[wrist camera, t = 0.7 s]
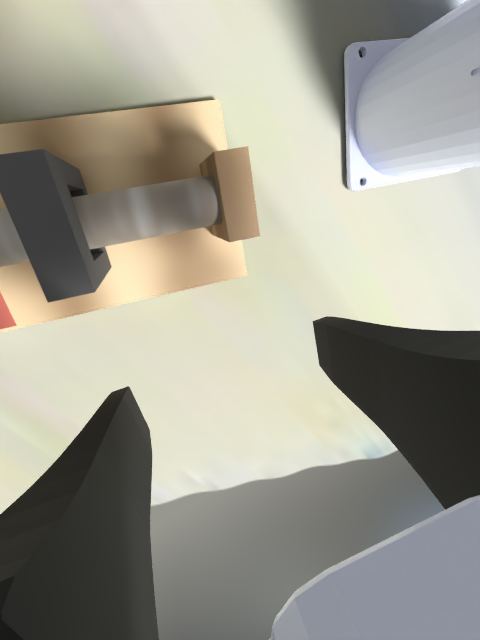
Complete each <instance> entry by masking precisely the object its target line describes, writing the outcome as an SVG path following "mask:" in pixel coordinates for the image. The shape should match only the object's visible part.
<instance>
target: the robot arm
mask: <svg viewBox="0 0 480 640" xmlns="http://www.w3.org/2000/svg"><path fill="white" fill-rule="evenodd" d="M359 50H361V52H362V58H361V57H360V56H359ZM344 74H345V117H346V160H347V187H348V189H349V190H350V191H358V190H363V189H369V188H374V187H379V186H384V185H390V184H395V183H400V182H406V181H411V180H416V179H421V178H427V177H432V176H437V175H442V174H448V173H453V172H458V171H460V170H461V169H462V168H469V167H476V166H480V0H467V1H466V2H464V3H463V4H461V5H460V6H458V7H456V8H455V9H453V10H452V11H450V12H449V13H447V14H446V15H444V16H443V17H441V18H440V19H438V20H437V21H435V22H434V23H432V24H431V25H429V26H428V27H426V28H425V29H423V30H422V31H420V32H418V33H417V34H415V35H414V36H412V37H411V38H402V39H390V40H378V41H366V42H354V43H352V44H350V45H349V46H348V47H347V48H346V50H345V53H344ZM361 178H362V180H363V183H362V185H360V179H361ZM313 326H314V333H315V339H316V345H317V352H318V358H319V365H320V366H321V368H322V369H323V370H324V372H325V373H326V374H327V376H328V377H329V378H330V380H331V381H332V382H333V383H334V384H335V385H336V386H337V387H338V388H339V389H340V390H341V391H342V392H343V393H344V394H345V395H346V396H347V397H348V398H349V399H350V400H351V401H352V402H353V403H354V404H355V405H356V406H357V407H358V408H359V409H361V410H362V411H363V412H364V413H365V414H366V415H367V416H368V417H369V418H370V419H371V420H372V421H373V422H374V423H375V424H376V425H377V426H378V427H379V428H380V429H381V430H382V431H383V432H384V433H385V435H386V436H387V437H388V438H389V439H390V440H391V442H392V443H393V444H394V445H395V446H396V447H397V449H398V450H399V451H400V452H401V453H402V454H403V456H404V457H405V458H406V460H407V461H408V462H409V463H410V464H411V466H412V467H413V468H414V469H415V471H416V472H417V473H418V474H419V476H420V477H421V478H422V479H423V481H424V482H425V483H426V485H427V486H428V487H429V488H430V490H431V491H432V493H433V494H434V495H435V496H436V498H437V499H438V500H439V502H440V503H441V504H442V506H443V507H444V508H445V510H444V511H442V512H440V513H438V514H436V515H434V516H432V517H430V518H428V519H426V520H424V521H422V522H420V523H418V524H416V525H414V526H412V527H410V528H408V529H406V530H404V531H402V532H400V533H398V534H396V535H394V536H392V537H390V538H388V539H386V540H384V541H382V542H380V543H378V544H376V545H374V546H372V547H370V548H368V549H366V550H364V551H362V552H360V553H358V554H356V555H354V556H352V557H350V558H348V559H346V560H344V561H342V562H340V563H338V564H336V565H334V566H332V567H330V568H328V569H326V570H325V571H323V572H322V573H320V574H319V575H318V576H316V577H315V578H313V579H312V580H310V581H309V582H308V583H306V584H305V585H303V586H302V587H300V588H299V589H297V590H296V591H295V592H294V594H293V595H292V596H291V598H290V599H289V600H288V601H287V603H286V604H285V606H284V607H283V608H282V609H281V611H280V612H279V613H278V615H277V616H276V618H275V621H274V624H273V627H272V636H271V638H270V639H268V640H480V331H437V330H421V329H409V328H401V327H393V326H386V325H379V324H373V323H367V322H362V321H356V320H350V319H345V318H338V317H324V318H321V319H318V320H315V321H313ZM151 478H152V448H151V438H150V430H149V428H148V425H147V423H146V421H145V419H144V417H143V415H142V413H141V411H140V408H139V406H138V404H137V402H136V400H135V398H134V396H133V394H132V392H131V389H130V387H129V386H128V387H125V388H123V389H120V390H117V391H114V392H112V393H111V394H110V395H109V396H108V397H107V398H106V399H105V401H104V402H103V403H102V405H101V406H100V407H99V409H98V410H97V411H96V413H95V414H94V415H93V416H92V418H91V419H90V420H89V422H88V423H87V424H86V425H85V427H84V428H83V429H82V431H81V432H80V433H79V434H78V436H77V437H76V438H75V439H74V440H73V441H72V443H71V444H70V445H69V446H68V447H67V449H66V450H65V451H64V452H63V453H62V455H61V456H60V457H59V458H58V459H57V460H56V461H55V462H54V463H53V465H52V466H51V467H50V468H49V469H48V470H47V471H46V472H45V473H44V474H43V475H42V476H41V477H40V478H39V479H38V480H37V481H36V482H35V483H34V484H33V485H32V486H31V487H30V488H29V489H28V490H27V491H26V492H25V493H24V494H23V495H22V496H20V497H19V498H18V499H17V500H16V501H15V502H14V503H13V504H12V505H10V506H9V507H8V508H7V509H6V510H5V511H4V512H3V513H2V514H0V640H159V638H158V628H157V618H156V608H155V596H154V585H153V572H152V558H151V542H150V504H151Z"/></svg>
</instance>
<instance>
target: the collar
mask: <svg viewBox="0 0 480 640" xmlns="http://www.w3.org/2000/svg"><path fill="white" fill-rule="evenodd" d="M0 194H1V196H2V198H3V200H4V203H5V205H6V207H7V210H8V212H9V214H10V217H11V219H12V221H13V224H14V226H15V228H16V230H17V233H18V235H19V237H20V240H21V242H22V244H23V247H24V249H25V251H26V254H27V256H28V258H29V260H30V263H31V265H32V267H33V270H34V272H35V274H36V277H37V279H38V281H39V283H40V286H41V288H42V290H43V293H44V295H45V297H46V300H47V302H48V303H49V302H53V301H58V300H62V299H67V298H71V297H76V296H80V295H85V294H89V293H94V292H96V290H97V289H98V287H99V286H100V284H101V283H102V281H103V279H104V278H105V276H106V275H107V273H108V272H109V270H110V269H111V267H112V266H111V263H110V260H109V257H108V254H107V251H106V248H105V247H100V248H95V249H90V248H89V246H88V243H87V240H86V237H85V234H84V231H83V229H82V226H81V223H80V220H79V217H78V214H77V211H76V209H75V206H74V203H73V200H72V197H77V196H83V195H88V194H87V191H86V188H85V185H84V182H83V179H82V176H81V173H80V170H79V169H78V168H76V167H74V166H73V165H71V164H69V163H67V162H65V161H64V160H62V159H60V158H58V157H56V156H55V155H53V154H51V153H49V152H47V151H46V150H44V149H38V150H30V151H23V152H15V153H7V154H0Z"/></svg>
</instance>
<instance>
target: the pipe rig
mask: <svg viewBox="0 0 480 640" xmlns="http://www.w3.org/2000/svg"><path fill="white" fill-rule="evenodd" d="M38 149H44V150H46V151H47V152H49V153H51V154H53V155H55V156H56V157H58V158H60V159H62V160H64V161H65V162H67V163H69V164H71V165H73V166H74V167H76V168H78V169H79V170H80V173H81V176H82V179H83V182H84V185H85V188H86V191H87V194H88V195H83V196H77V197H72V200H73V203H74V206H75V209H76V211H77V214H78V217H79V220H80V223H81V226H82V229H83V231H84V234H85V237H86V240H87V243H88V246H89V248H90V249H95V248H100V247H105V248H106V251H107V254H108V257H109V260H110V263H111V266H112V267H111V269H110V270H109V272H108V273H107V275H106V276H105V278H104V279H103V281H102V283H101V284H100V286H99V287H98V289H97V290H96V292H94V293H89V294H85V295H80V296H76V297H71V298H67V299H62V300H58V301H53V302H49V303H48V302H47V300H46V297H45V295H44V293H43V290H42V288H41V286H40V283H39V281H38V279H37V277H36V274H35V272H34V270H33V267H32V265H31V263H30V260H29V258H28V256H27V254H26V251H25V249H24V247H23V244H22V242H21V240H20V237H19V235H18V233H17V230H16V228H15V226H14V224H13V221H12V219H11V217H10V214H9V212H8V210H7V207H6V205H5V203H4V200H3V198H2V196H1V194H0V333H1V332H5V331H10V330H14V329H18V328H23V327H27V326H31V325H36V324H40V323H44V322H48V321H53V320H57V319H61V318H66V317H70V316H74V315H79V314H83V313H87V312H91V311H96V310H100V309H104V308H109V307H113V306H117V305H122V304H126V303H130V302H134V301H139V300H143V299H147V298H152V297H156V296H160V295H165V294H169V293H173V292H178V291H182V290H186V289H190V288H195V287H199V286H203V285H208V284H212V283H216V282H221V281H225V280H229V279H233V278H238V277H242V276H246V275H247V270H246V264H245V257H244V251H243V245H242V240H243V239H248V238H253V237H258V236H260V234H259V226H258V219H257V211H256V204H255V196H254V189H253V181H252V174H251V166H250V159H249V151H248V147H241V148H235V149H227V143H226V136H225V130H224V123H223V117H222V111H221V104H220V99H217V100H209V101H200V102H191V103H182V104H173V105H164V106H155V107H147V108H138V109H129V110H120V111H111V112H102V113H93V114H85V115H76V116H67V117H58V118H49V119H40V120H31V121H23V122H14V123H5V124H0V154H7V153H15V152H23V151H30V150H38Z"/></svg>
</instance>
